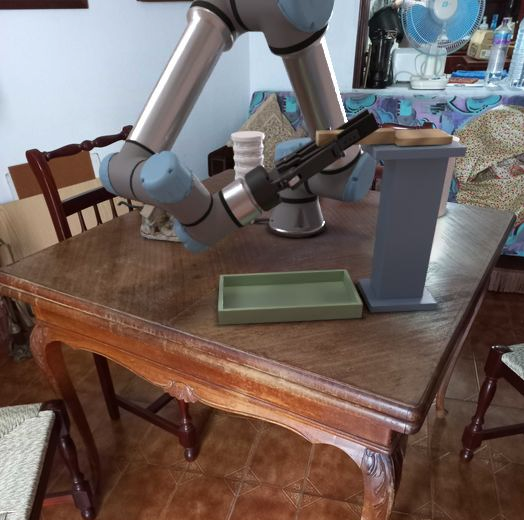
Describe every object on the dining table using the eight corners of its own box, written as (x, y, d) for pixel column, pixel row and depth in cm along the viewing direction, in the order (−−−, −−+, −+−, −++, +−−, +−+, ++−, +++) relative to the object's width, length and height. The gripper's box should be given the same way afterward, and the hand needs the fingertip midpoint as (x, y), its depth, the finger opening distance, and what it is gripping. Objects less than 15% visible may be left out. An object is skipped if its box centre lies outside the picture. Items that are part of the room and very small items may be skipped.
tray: (219, 325, 90) (217, 311, 89) (220, 287, 103) (219, 274, 102) (361, 318, 91) (362, 304, 90) (345, 281, 104) (346, 269, 102)
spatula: (319, 149, 77) (320, 136, 76) (313, 140, 83) (314, 128, 82) (451, 144, 78) (454, 131, 77) (436, 135, 84) (439, 123, 82)
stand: (360, 313, 93) (377, 152, 76) (348, 285, 103) (361, 137, 86) (435, 309, 93) (469, 148, 76) (416, 282, 103) (442, 134, 86)
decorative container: (270, 193, 160) (269, 135, 150) (237, 196, 158) (234, 138, 147) (261, 184, 169) (260, 129, 159) (230, 187, 167) (226, 132, 157)
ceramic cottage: (137, 228, 135) (130, 174, 126) (192, 221, 140) (189, 169, 131) (149, 250, 123) (142, 193, 114) (208, 242, 129) (206, 187, 120)
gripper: (262, 199, 93) (370, 130, 87) (267, 227, 80) (395, 149, 74) (241, 165, 89) (353, 91, 83) (243, 189, 76) (375, 103, 70)
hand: (372, 118), depth 78 cm, fingers closed on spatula, 3 cm apart
